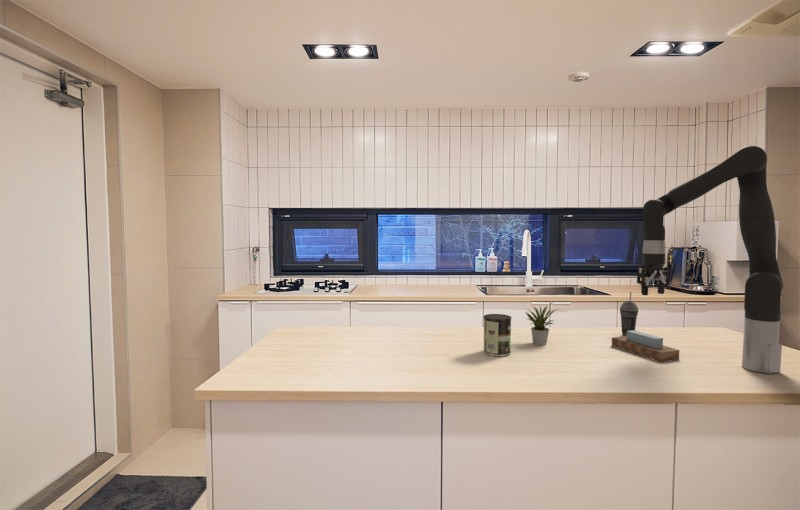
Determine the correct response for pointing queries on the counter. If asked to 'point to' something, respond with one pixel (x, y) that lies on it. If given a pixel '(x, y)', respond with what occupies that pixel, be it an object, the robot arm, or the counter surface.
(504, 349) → the coffee can
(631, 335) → the grey bridge block
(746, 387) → the counter surface
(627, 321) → the beverage cup
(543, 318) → the house plant
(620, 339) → the brown wooden slab
